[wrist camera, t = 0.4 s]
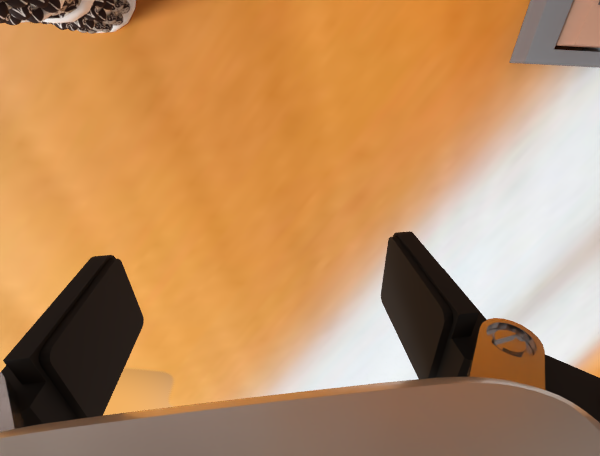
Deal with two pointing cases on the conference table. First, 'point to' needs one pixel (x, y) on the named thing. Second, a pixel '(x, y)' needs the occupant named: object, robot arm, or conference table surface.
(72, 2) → the leaning tower model
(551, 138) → the conference table surface
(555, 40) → the console
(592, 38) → the tile three
